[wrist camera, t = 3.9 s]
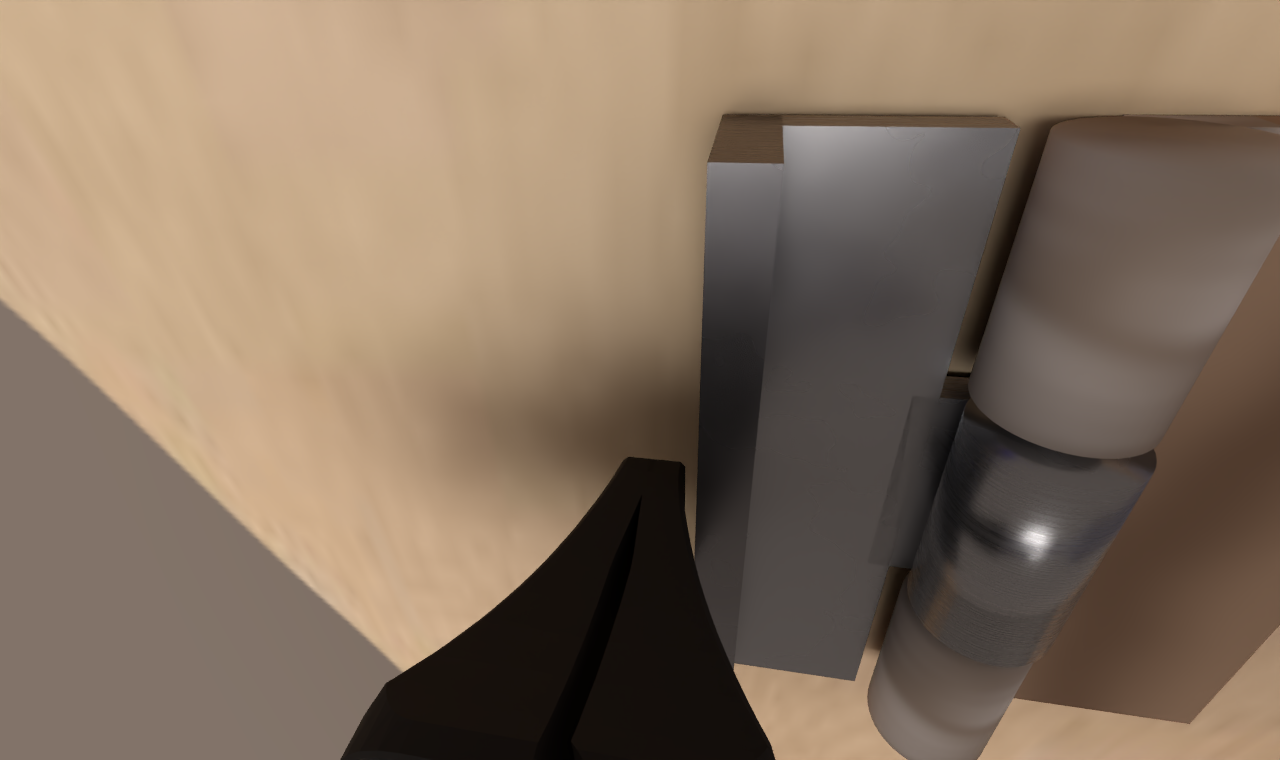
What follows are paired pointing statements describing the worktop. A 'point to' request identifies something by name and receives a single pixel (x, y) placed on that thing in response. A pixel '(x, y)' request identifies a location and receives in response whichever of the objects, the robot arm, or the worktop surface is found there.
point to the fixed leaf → (1131, 423)
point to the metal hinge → (872, 404)
